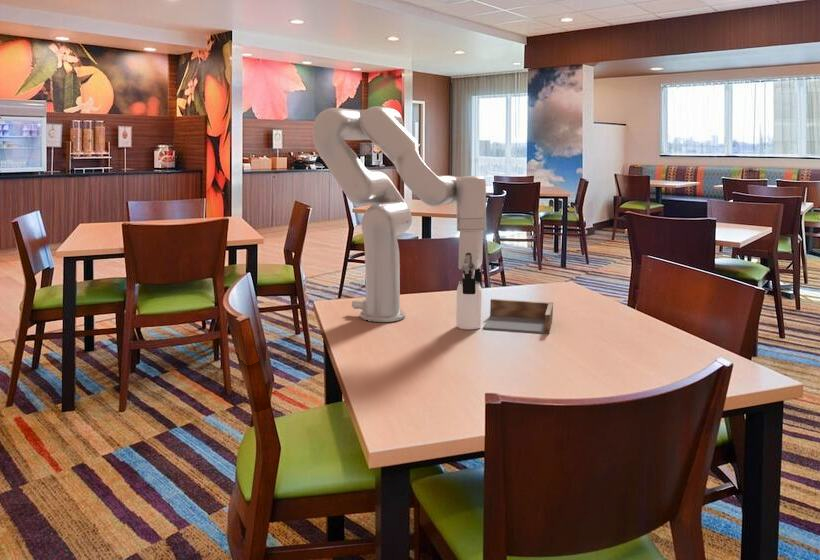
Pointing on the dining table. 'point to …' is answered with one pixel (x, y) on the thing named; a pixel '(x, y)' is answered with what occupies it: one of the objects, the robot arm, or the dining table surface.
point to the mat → (515, 324)
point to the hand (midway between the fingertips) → (472, 290)
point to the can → (469, 308)
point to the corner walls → (523, 310)
